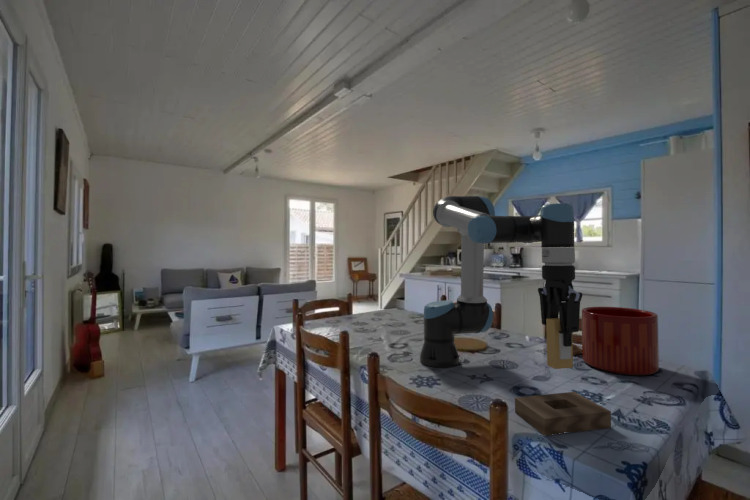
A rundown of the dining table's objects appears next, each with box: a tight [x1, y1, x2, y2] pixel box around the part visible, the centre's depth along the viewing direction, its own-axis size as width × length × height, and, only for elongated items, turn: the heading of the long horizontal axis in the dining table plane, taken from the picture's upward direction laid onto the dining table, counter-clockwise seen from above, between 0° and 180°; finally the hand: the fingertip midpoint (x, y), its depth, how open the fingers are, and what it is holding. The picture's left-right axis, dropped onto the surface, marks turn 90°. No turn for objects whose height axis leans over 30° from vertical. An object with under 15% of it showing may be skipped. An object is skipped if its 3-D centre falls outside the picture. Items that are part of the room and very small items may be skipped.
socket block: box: [514, 391, 612, 437], centre depth 88 cm, size 18×12×4 cm, turn 100°
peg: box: [545, 317, 574, 370], centre depth 88 cm, size 3×5×12 cm, turn 101°
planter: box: [581, 306, 660, 377], centre depth 128 cm, size 23×23×20 cm
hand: (559, 356), depth 88 cm, fingers closed on peg, 3 cm apart
